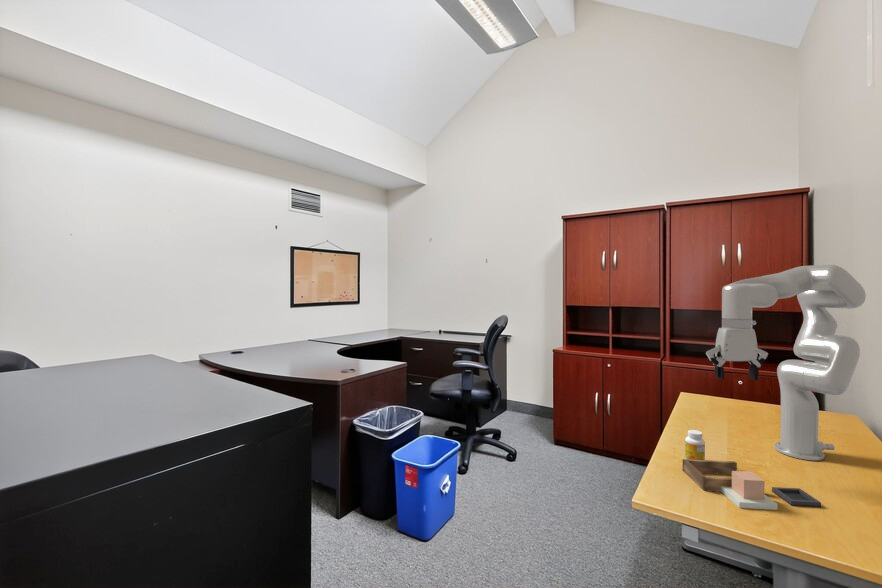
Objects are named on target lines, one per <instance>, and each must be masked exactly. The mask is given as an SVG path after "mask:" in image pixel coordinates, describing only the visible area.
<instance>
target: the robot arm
mask: <svg viewBox="0 0 882 588" xmlns="http://www.w3.org/2000/svg"><path fill="white" fill-rule="evenodd" d="M721 290H722V291H721V327H718V330H717V333H716V337H715V347H713V348H711V349H709V350H707V351H706V352H705V355H706V356H707V358H708V360H709V362H710V363H712V365H713V366H714V376H715V378H716V379H718V380H720V381H723V380H725V368H724V366H723V365H724V364H725V363H726V362H748V363H749V364H750V365H749V366H748V379H750V380H753V381H759V376H760V375H759V374H760V373H759V370H760V368H761V366H762V364H764V363H765V362H766V359H767V358H768V355H769V353H768V352H767V351H766V350H763V349H761V348H758V341H757V335H756V331H755V329H754V328H753V326H756V325H757V321H756V320H753V308H758V309H759V308H761V309H763V308H771V307H772V306H774V305H775V304H776V302H777V301H778V300H779V299H788V298H792V297H795V296H797V297H796V298H797V301H798V304H799V306H800V308H801V311H802V315H803V322H802V324H801V327H800V329H799V332H798V334H797V336H796V339H795V341H794V342H795V343H794V344H793V353H794V355H795V356H797V357H798V358H799V359H786V360H783V361H781V362H780V363H779V364H778V366H777V368H776V374H777V379H778V383H779V388H780V389H779V390H780V425H779V427H780V430H779V431H780V434H779V435H780V437H779V438H780V441H778V442H775V443H774V450H775V451H776V452H779V453H781V454H783V455H785V456H788V457H791V458H796V459H801V460H805V461H822V460H824V459H825V454H824V452H823V451H825V450H827V451H835V445H834V444H833V443H824V442H823V441H819V421H820V420H819V418H820V417H819V416H820V415H819V413H820V412H819V411H820V407H819V402H818V399H817V397H816V396H815V394H814V393H818V394H824V395H829V396H841V395H843V394H844V393H845V392H846V391H847V389H848V388H849V386H850V383H851V381H852V378H853V376H854V373H855V371H856V369H857V368H856V367H857V364H858V363H859V359H860V353H861V352H860V351H861V349H860V345H859V343H858V342H857V340H855V338H852V337H850V336H845V335H838V334H836V332H837V331H836V330H837V328H838V324H837V321H836V319H835V317H834V316H833V315H832V314H831V313H830V312H829V311H828V310H827V309H828V308H829V309H830V308H831V309H848V310H849V309H857V308H859V307H861V306H862V305H863V304H864V303H865V301H866V297H867V294H866V291H865V288H864V287H863V286H862V284H861V283H860V282H859V281H858V280H857V279H856V278H855V277H854V276H853V275H852V274H851V273H849V272H848V271H847V270H846V269H844V268H842V267H841V266H839V265H836V264H821V265H819V264H817V265H802V266H797V267H793V268H790V269H787V270H783V271H781V272H778V273H777V272H776V273H771V274H767V275H766V274H765V275H762V276H755V277H750V278H745V279H740V280H738V281H734V282H732V283H729V284H726V285H724V286H723V287H722V288H721ZM758 354H759V356H758ZM800 358H801V359H802V360H801V359H800ZM813 392H814V393H813Z"/></svg>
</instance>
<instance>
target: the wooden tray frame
mask: <svg viewBox="0 0 882 588" xmlns="http://www.w3.org/2000/svg"><path fill="white" fill-rule="evenodd" d="M682 471H683V472H684V473H685V474H686V475H687V476H688V477H689V479H691V480H692V481H693V482H694V484H696V485H697V487H699V488H700V489H701V490H702V491H704V492H721V486H725V487H732V477H719V476H718V477H717V476H714V477H713V476H706V475H705V474H722V475H724V474H725V475H732V471H738V463H737V462H736V461H734V460H733V461H731V460H709V459H708V460H707V459H705V460H687V459H685V458H683V459H682ZM721 493H722V492H721Z"/></svg>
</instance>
